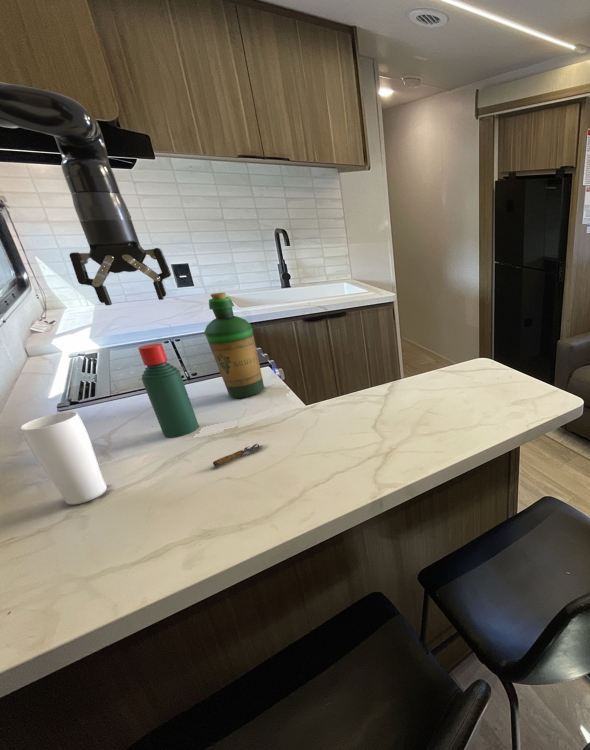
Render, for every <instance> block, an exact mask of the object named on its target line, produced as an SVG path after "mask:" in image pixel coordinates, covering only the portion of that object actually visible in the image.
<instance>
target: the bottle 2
mask: <svg viewBox="0 0 590 750" xmlns="http://www.w3.org/2000/svg"><path fill="white" fill-rule="evenodd" d="M210 297H211V298H210V299H208V309H209V310H212V312H213V314H214V317H215V318H214V319H212V320H211V321H209V323H208V324H207V325H206V327H205V330H204V333H203V334H204V335H205V338H206V341H207V343H208V345H209V347H210V350H211V352H212V355H213V358H214V360H215V363H216V366H217V368H218V371H219V373H220V375H221V378H222V382H223V384H224V386H225V388H226V390H227V393H228V396H229V397H231V398H234V399H244V398H249V397H253V396H255V395H258V394H260V393H261V392H263V391H264V389H265V384H264V379H263V374H262V371H261V366H260V365H261V364H260V359H259V356H258V351H257V346H256V341H255V338H254V337H255V336H254V332H253V328H252V324H251V323H250V322H249V321H248V320H247V319H245V318H242V317H240V316H237V315H234V309H233V307H235V304H234V303H233V301H232V298H231V297H229V296H227V293H226V292H215V293H211V294H210Z"/></svg>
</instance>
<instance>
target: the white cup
mask: <svg viewBox="0 0 590 750" xmlns="http://www.w3.org/2000/svg"><path fill="white" fill-rule="evenodd" d="M19 430H20V433H21V435H22V438H23V440H24V442H25V443H26V446H27V447H28V449H29V451H30V452H31V454H32V455H33V457H34V458H35V460H36V461H37V462H38V464H39V465H40V466H41V468H42V469H43V470H44V472H45V473H46V475H47V476H48V477H49V479H50V480H51V482H52V483H53V485H54V486H55V487H56V489H57V491H58V492H59V493H60V495H61V496H62V499H63V500H64V502H65V503H66V504H67V505H71V506H73V505H80V504H85V503H87V502H90V501H93V500H95V499H97V498H99V497H100V496H102V495H103V494H105V492H106V491H107V487H108V486H107V483H106V481H105V479H104V477H103V473H102V471H101V468H100V466H99V465H100V464H99V462H98V459H97V457H96V453H95V450H94V447H93V443H92V441H91V440H92V439H91V437H90V434H89V433H88V430H87V428H86V426H85V423H84V422H83V420H82V418H81V416H80V414H79V412H77V411H63V412H56V413H51V414H48V415H43V416H41V417H38V418H34V419H32V420H30V421H27V422H26V423H23V424H22V425H21V426H20V427H19Z"/></svg>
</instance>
